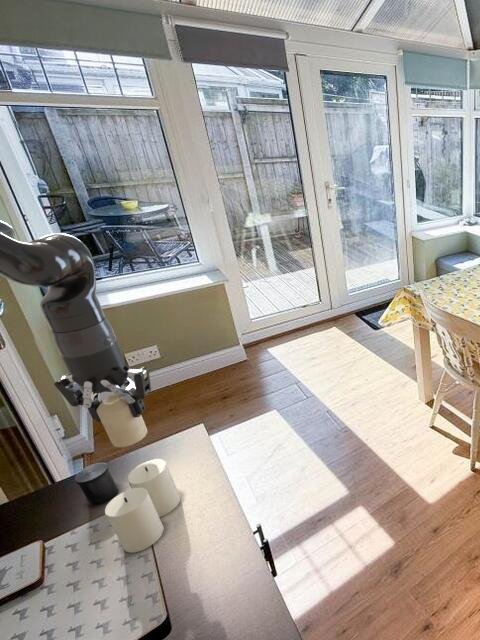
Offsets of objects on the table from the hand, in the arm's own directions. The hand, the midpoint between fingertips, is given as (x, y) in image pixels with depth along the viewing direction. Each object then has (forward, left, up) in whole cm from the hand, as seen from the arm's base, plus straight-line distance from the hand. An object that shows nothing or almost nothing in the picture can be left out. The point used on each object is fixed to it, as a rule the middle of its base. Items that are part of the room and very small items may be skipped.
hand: (120, 416), depth 81 cm
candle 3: (+4, -12, -20) cm, 24 cm away
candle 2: (+4, -5, -20) cm, 21 cm away
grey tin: (-9, 0, -20) cm, 22 cm away
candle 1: (0, 0, -6) cm, 6 cm away
